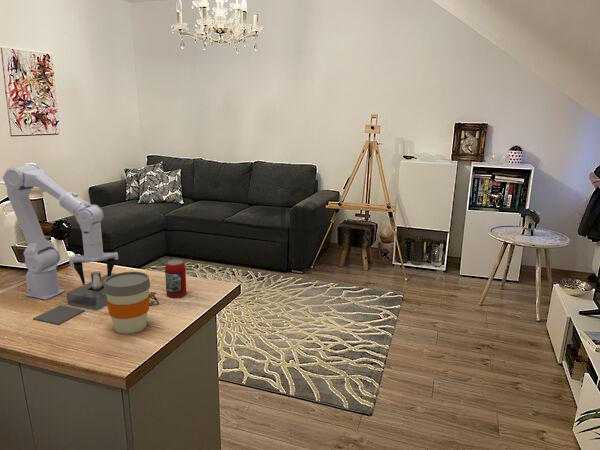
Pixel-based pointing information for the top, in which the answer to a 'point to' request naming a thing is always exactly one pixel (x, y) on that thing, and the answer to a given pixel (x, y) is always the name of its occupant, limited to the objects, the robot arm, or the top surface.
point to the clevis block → (88, 296)
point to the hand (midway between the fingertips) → (96, 281)
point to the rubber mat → (59, 315)
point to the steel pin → (96, 281)
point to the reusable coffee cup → (128, 300)
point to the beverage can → (175, 278)
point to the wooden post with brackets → (153, 298)
